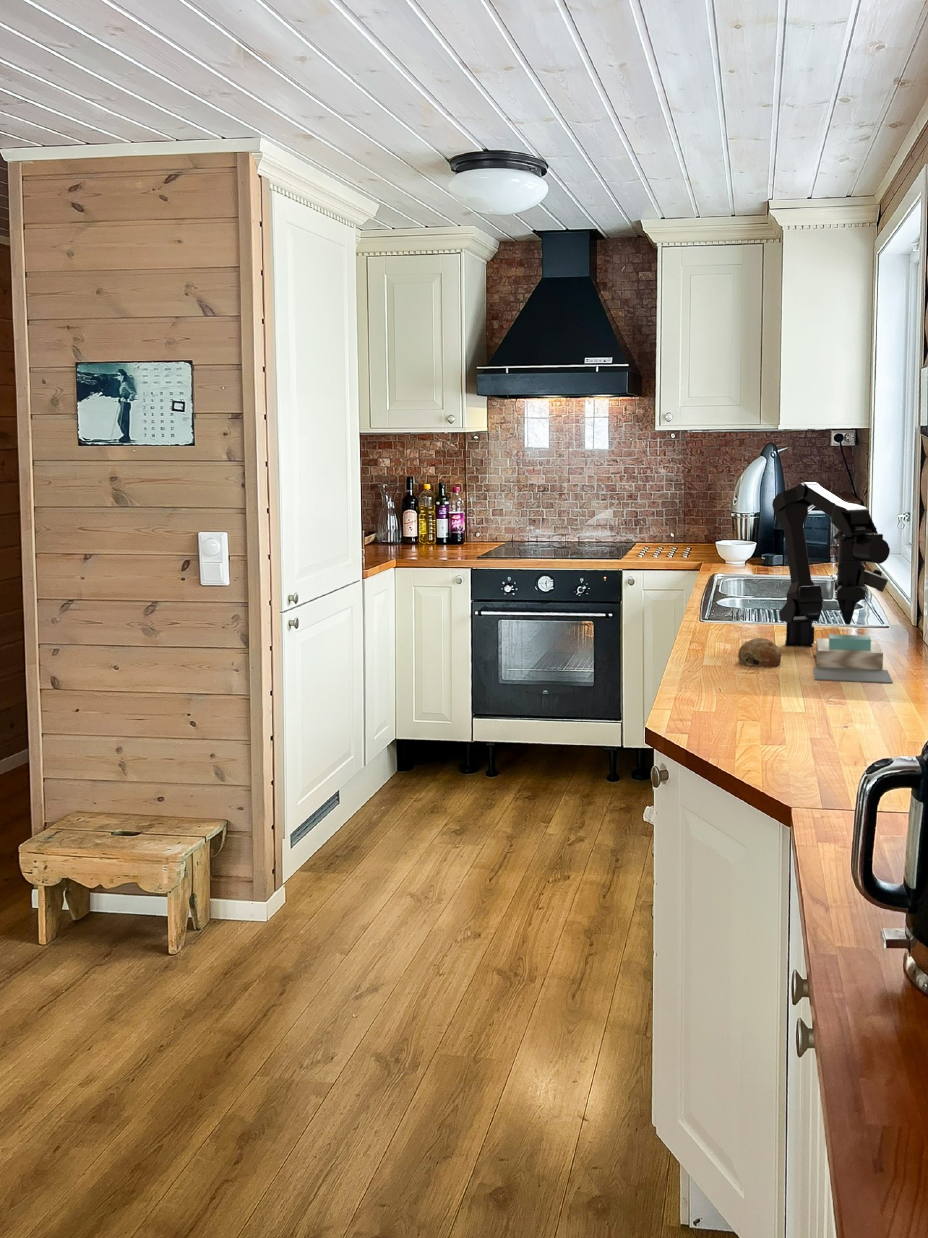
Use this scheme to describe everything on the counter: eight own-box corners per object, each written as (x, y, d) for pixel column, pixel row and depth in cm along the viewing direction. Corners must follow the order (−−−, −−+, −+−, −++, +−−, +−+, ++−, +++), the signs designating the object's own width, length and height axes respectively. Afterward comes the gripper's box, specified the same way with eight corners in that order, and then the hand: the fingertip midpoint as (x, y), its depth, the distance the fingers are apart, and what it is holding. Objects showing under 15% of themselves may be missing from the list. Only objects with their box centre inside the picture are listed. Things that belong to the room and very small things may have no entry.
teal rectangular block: (829, 649, 267) (829, 638, 267) (828, 644, 273) (829, 634, 272) (870, 650, 265) (871, 639, 264) (868, 646, 270) (869, 635, 270)
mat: (814, 680, 252) (814, 678, 252) (813, 668, 265) (813, 666, 265) (892, 683, 248) (892, 682, 248) (887, 671, 261) (887, 669, 261)
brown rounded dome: (734, 679, 272) (731, 651, 268) (745, 654, 279) (742, 627, 275) (777, 683, 267) (775, 654, 263) (786, 657, 275) (784, 629, 271)
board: (817, 668, 265) (818, 650, 265) (815, 654, 283) (816, 638, 282) (882, 670, 262) (883, 653, 261) (876, 656, 279) (877, 640, 278)
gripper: (889, 564, 263) (886, 632, 266) (883, 556, 281) (880, 619, 284) (838, 563, 266) (835, 630, 269) (835, 555, 284) (832, 618, 286)
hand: (847, 624), depth 277 cm, fingers closed
